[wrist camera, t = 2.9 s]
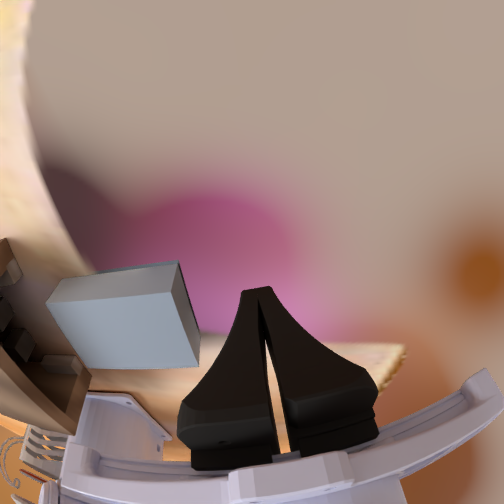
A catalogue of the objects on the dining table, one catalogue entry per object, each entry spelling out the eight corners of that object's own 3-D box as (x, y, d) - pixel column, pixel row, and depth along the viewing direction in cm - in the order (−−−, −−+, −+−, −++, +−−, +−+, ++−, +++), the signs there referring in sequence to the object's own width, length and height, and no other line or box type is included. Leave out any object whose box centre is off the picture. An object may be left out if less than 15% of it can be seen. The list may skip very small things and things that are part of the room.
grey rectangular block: (200, 332, 15) (198, 366, 13) (98, 338, 15) (87, 368, 13) (178, 259, 13) (170, 292, 10) (64, 275, 12) (45, 303, 10)
